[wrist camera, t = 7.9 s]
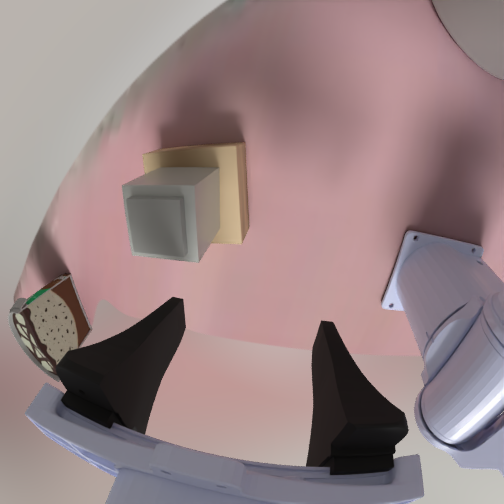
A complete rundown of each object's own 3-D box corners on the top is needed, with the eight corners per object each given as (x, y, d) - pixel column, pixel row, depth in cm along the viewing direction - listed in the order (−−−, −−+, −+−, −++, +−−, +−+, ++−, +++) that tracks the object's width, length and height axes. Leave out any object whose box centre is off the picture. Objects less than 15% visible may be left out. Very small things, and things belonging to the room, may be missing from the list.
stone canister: (219, 167, 18) (190, 188, 13) (220, 228, 20) (195, 268, 15) (159, 167, 18) (116, 188, 13) (164, 224, 20) (127, 259, 15)
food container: (41, 259, 30) (-7, 298, 21) (67, 263, 29) (15, 309, 20) (68, 327, 35) (33, 369, 26) (95, 336, 34) (60, 384, 26)
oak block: (245, 141, 20) (236, 146, 17) (249, 226, 23) (241, 244, 20) (163, 148, 21) (142, 154, 18) (173, 225, 24) (155, 241, 21)
